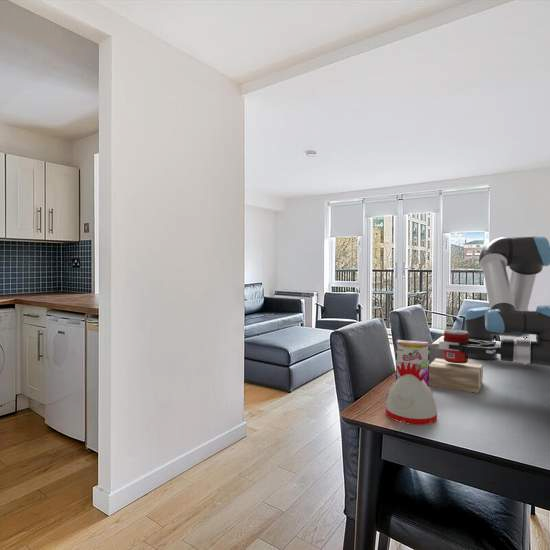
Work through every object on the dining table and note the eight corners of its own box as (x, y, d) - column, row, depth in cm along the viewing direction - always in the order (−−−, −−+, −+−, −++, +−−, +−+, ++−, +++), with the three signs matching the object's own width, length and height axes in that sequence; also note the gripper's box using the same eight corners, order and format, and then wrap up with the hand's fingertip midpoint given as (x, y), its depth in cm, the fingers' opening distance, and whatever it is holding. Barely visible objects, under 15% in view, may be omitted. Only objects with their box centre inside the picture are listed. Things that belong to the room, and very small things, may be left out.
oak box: (436, 375, 146) (436, 358, 146) (482, 382, 137) (482, 364, 137) (428, 385, 135) (428, 365, 135) (478, 393, 126) (478, 372, 126)
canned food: (471, 364, 131) (471, 333, 131) (446, 363, 133) (447, 332, 133) (464, 359, 139) (464, 329, 139) (441, 358, 140) (441, 328, 140)
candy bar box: (395, 388, 131) (395, 341, 131) (395, 384, 136) (395, 339, 135) (429, 391, 127) (429, 344, 127) (428, 387, 132) (429, 341, 132)
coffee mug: (454, 368, 156) (454, 345, 156) (453, 374, 148) (453, 349, 147) (420, 364, 163) (420, 342, 163) (417, 370, 154) (417, 346, 154)
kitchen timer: (399, 402, 117) (399, 355, 117) (444, 414, 108) (444, 363, 108) (377, 415, 107) (377, 363, 107) (424, 429, 98) (425, 372, 98)
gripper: (513, 368, 117) (435, 358, 130) (515, 355, 134) (446, 348, 147) (513, 344, 117) (435, 337, 130) (515, 335, 134) (446, 329, 147)
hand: (441, 343), depth 138 cm, fingers closed on canned food, 8 cm apart
